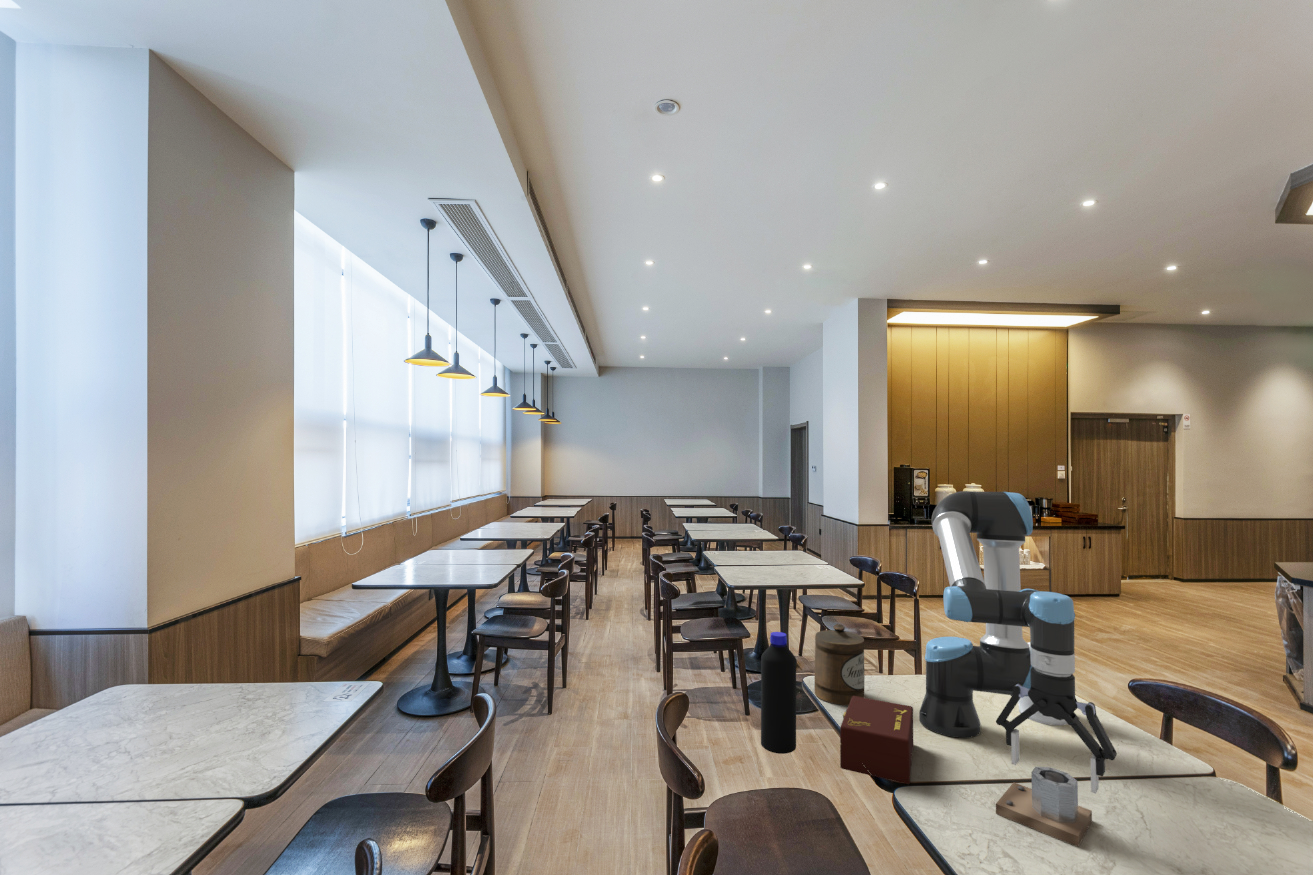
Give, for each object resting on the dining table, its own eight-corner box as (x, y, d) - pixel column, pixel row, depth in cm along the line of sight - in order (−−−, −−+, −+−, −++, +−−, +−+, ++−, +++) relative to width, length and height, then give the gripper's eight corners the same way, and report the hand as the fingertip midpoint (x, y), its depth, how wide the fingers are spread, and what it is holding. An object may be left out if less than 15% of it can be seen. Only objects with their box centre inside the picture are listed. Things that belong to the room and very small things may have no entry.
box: (846, 731, 156) (846, 693, 156) (913, 745, 148) (913, 705, 149) (833, 767, 137) (833, 724, 137) (909, 785, 130) (909, 739, 130)
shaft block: (995, 813, 119) (995, 768, 119) (1013, 791, 127) (1013, 749, 128) (1078, 846, 109) (1077, 798, 109) (1091, 820, 117) (1090, 775, 117)
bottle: (775, 757, 141) (776, 641, 142) (753, 741, 149) (754, 631, 150) (803, 749, 145) (803, 636, 146) (780, 734, 153) (780, 627, 154)
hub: (1029, 810, 117) (1028, 775, 117) (1038, 797, 122) (1038, 763, 122) (1072, 827, 111) (1071, 790, 112) (1080, 812, 116) (1079, 776, 117)
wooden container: (857, 709, 169) (857, 633, 170) (808, 698, 177) (808, 625, 178) (869, 693, 181) (869, 622, 182) (822, 682, 189) (822, 615, 190)
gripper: (979, 658, 124) (980, 758, 124) (1127, 694, 106) (1128, 811, 106) (990, 650, 130) (991, 745, 129) (1133, 683, 111) (1135, 794, 111)
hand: (1053, 775), depth 117 cm, fingers open, 13 cm apart
